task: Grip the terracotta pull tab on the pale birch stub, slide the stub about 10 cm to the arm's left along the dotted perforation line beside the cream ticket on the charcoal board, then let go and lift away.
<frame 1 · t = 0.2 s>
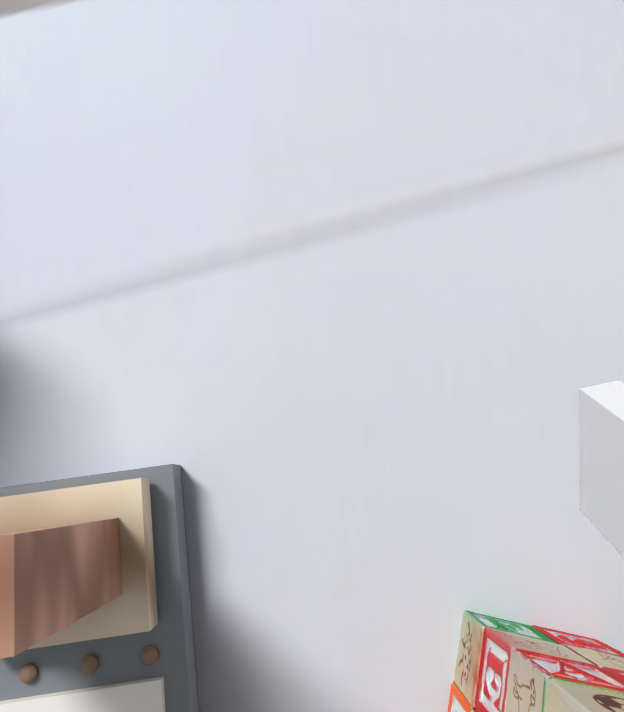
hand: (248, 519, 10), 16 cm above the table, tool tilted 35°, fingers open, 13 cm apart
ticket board: (1, 675, 23), on the table
stub: (13, 578, 18), point 6 cm above the table, slide at 0.0 cm
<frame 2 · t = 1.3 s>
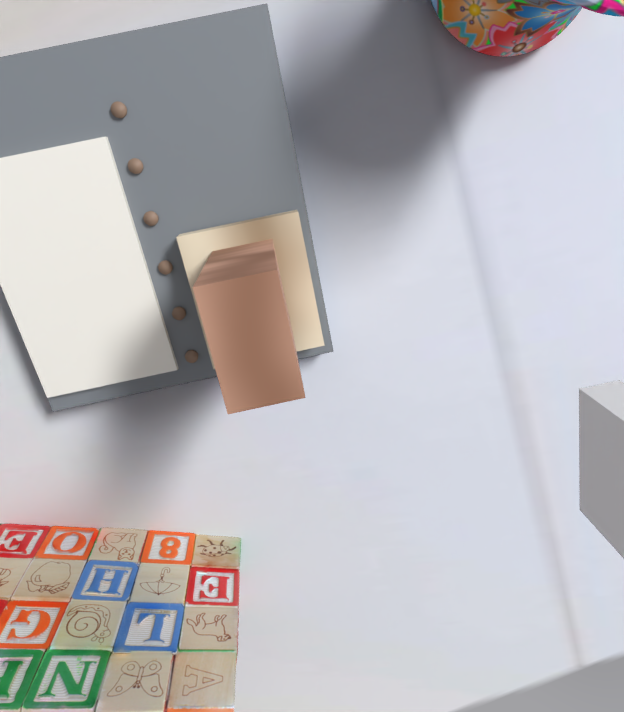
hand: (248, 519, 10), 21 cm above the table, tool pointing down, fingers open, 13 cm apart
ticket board: (154, 226, 28), on the table
stub: (253, 311, 23), point 6 cm above the table, slide at 0.0 cm
stack of blocks: (78, 561, 35), on the table
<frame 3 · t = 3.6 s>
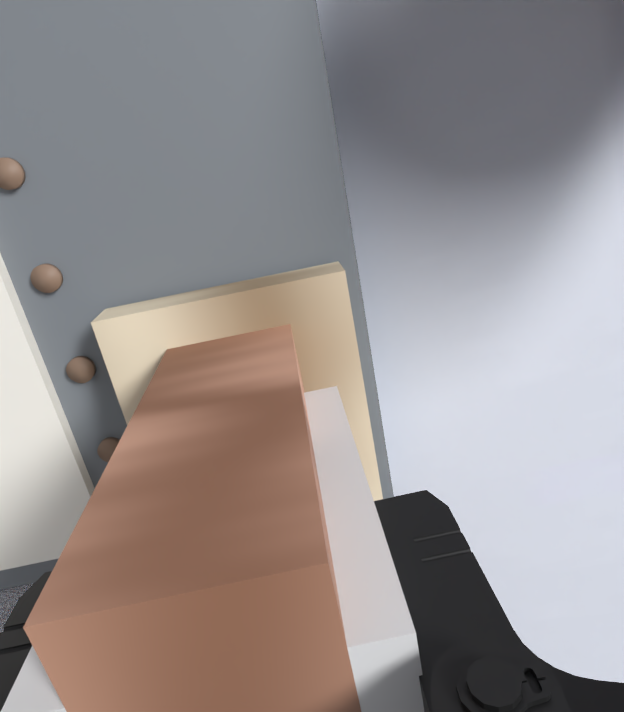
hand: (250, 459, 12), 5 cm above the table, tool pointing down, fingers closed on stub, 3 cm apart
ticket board: (64, 285, 15), on the table
stub: (248, 510, 10), point 6 cm above the table, slide at 0.0 cm, touching gripper
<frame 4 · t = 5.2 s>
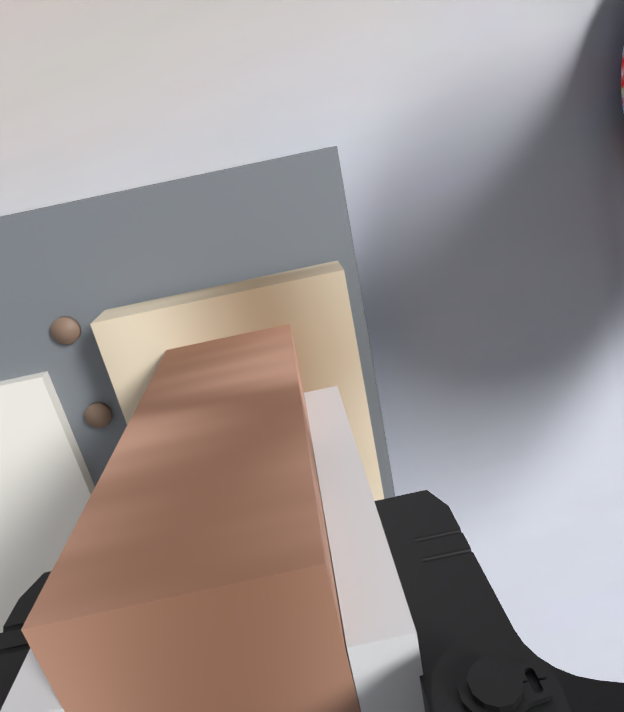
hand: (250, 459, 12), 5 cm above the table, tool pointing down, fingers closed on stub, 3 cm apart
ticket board: (135, 475, 17), on the table
stub: (248, 510, 10), point 6 cm above the table, slide at 6.4 cm, touching gripper
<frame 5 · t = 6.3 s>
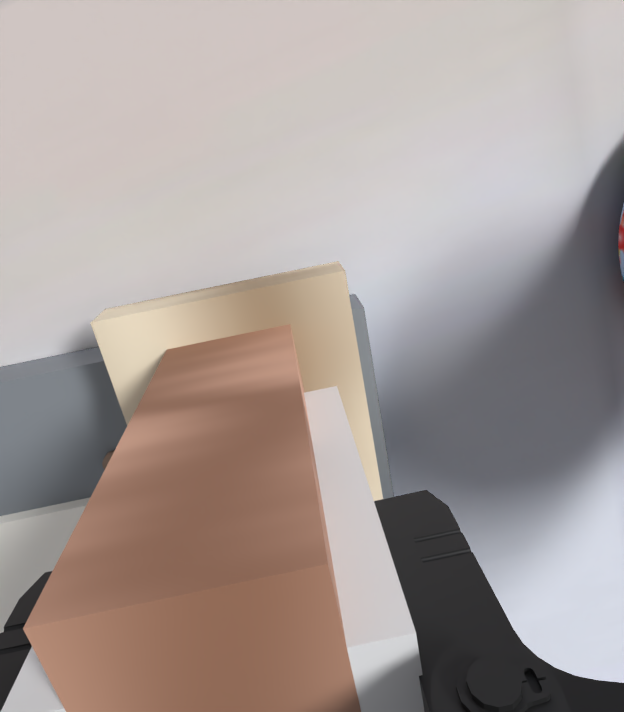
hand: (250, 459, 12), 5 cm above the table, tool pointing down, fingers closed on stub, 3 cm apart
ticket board: (169, 572, 19), on the table
stub: (248, 510, 10), point 6 cm above the table, slide at 10.4 cm, touching gripper
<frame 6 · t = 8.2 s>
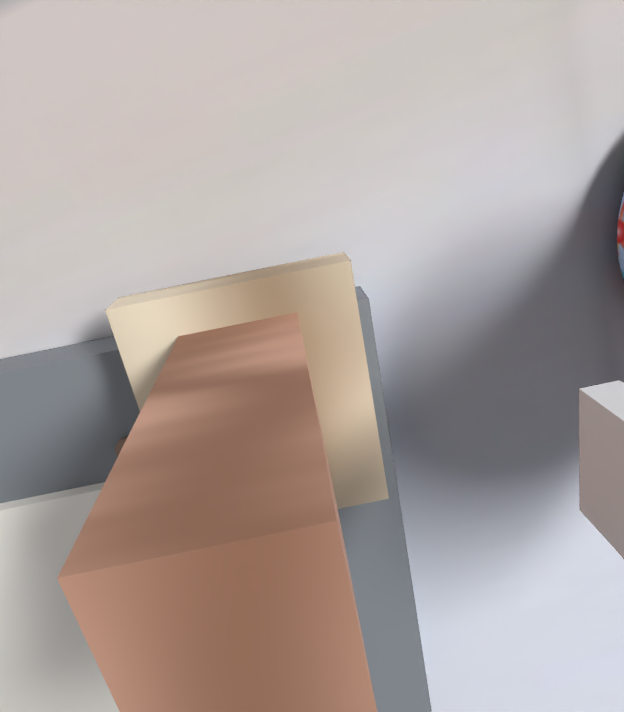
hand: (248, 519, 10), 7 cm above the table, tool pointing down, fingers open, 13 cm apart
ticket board: (178, 557, 19), on the table
stub: (257, 488, 11), point 6 cm above the table, slide at 10.5 cm
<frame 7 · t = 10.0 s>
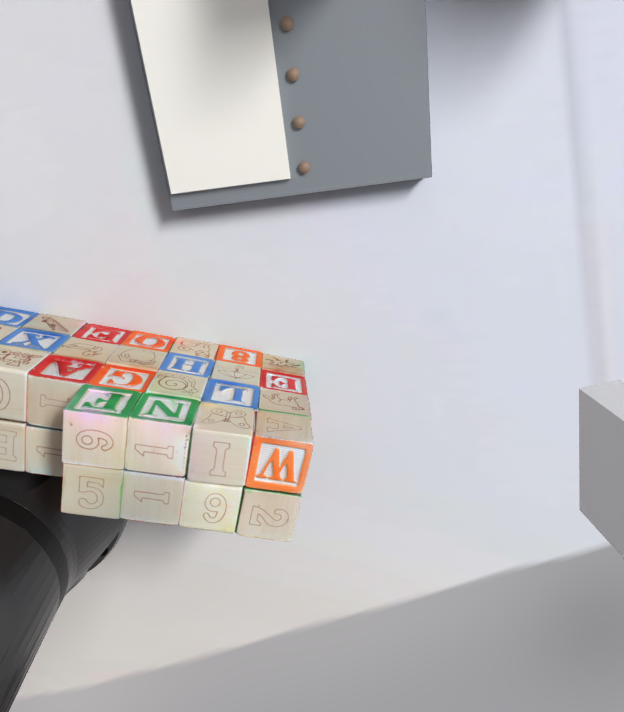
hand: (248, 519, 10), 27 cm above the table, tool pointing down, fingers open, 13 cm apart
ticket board: (283, 40, 31), on the table
stack of blocks: (151, 371, 38), on the table
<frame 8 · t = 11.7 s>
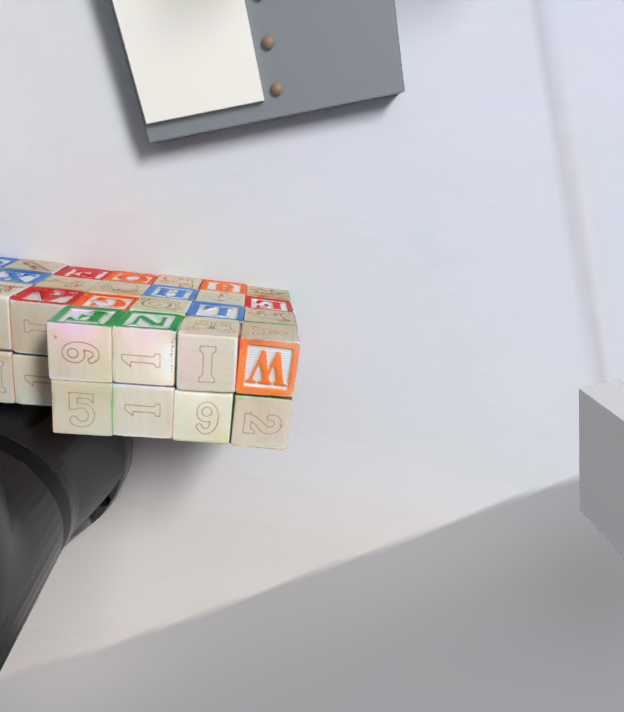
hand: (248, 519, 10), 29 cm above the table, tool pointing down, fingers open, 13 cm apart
stack of blocks: (137, 313, 38), on the table
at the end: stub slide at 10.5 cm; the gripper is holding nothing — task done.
